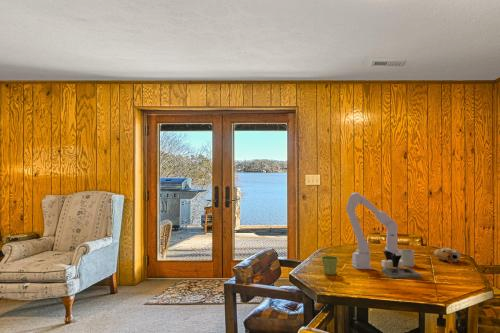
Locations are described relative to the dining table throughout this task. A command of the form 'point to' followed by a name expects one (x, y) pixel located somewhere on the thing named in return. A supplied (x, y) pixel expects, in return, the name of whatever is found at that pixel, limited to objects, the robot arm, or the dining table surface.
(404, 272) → the keyhole plate
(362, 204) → the robot arm
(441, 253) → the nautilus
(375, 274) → the dining table surface
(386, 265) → the power strip
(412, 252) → the cup
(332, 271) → the plant pot
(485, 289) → the dining table surface
